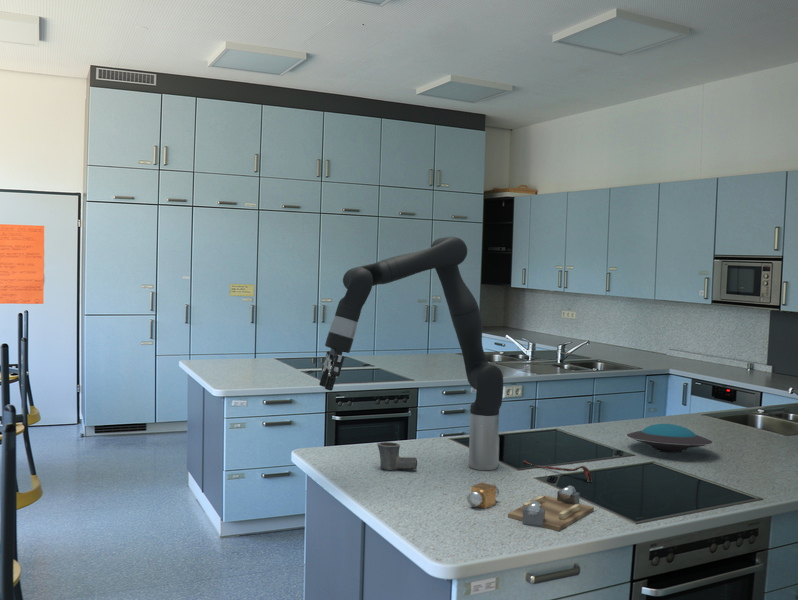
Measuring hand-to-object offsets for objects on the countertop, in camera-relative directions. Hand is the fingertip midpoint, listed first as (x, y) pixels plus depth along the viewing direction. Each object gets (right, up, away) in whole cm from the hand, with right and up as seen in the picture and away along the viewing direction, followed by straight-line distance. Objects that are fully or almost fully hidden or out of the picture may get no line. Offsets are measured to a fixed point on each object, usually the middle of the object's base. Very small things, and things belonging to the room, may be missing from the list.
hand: (325, 388), depth 198 cm
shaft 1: (+55, -30, -28) cm, 68 cm away
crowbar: (+71, -29, +18) cm, 79 cm away
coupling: (+44, -29, -14) cm, 55 cm away
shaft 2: (+67, -30, -13) cm, 74 cm away
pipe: (+20, -28, +17) cm, 38 cm away
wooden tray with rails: (+61, -30, -21) cm, 71 cm away
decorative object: (+118, -29, +48) cm, 130 cm away
